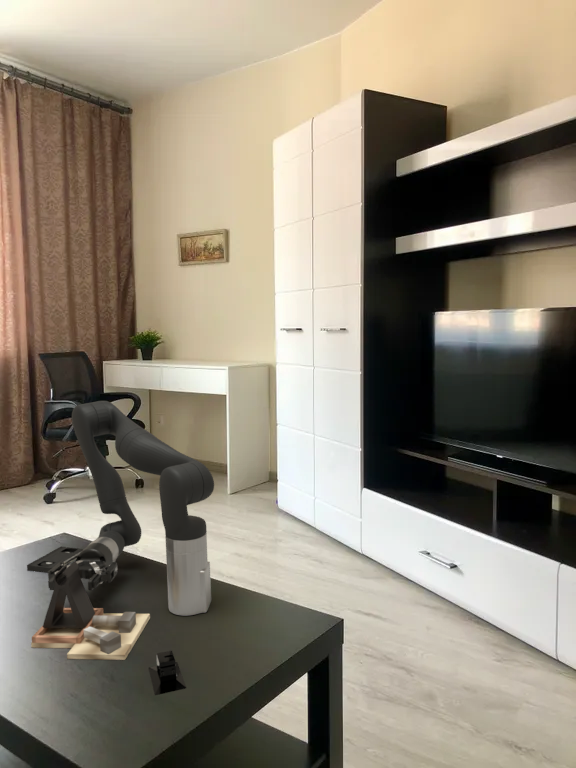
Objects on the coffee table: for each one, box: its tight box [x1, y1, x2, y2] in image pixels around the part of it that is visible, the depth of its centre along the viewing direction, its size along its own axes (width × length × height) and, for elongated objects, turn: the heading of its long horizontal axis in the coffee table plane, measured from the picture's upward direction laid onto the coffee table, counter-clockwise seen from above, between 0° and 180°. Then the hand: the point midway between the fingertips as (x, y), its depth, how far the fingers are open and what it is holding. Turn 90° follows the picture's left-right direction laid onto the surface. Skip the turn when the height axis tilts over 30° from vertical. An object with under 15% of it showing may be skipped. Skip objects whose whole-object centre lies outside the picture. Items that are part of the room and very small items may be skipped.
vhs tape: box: [26, 545, 85, 574], centre depth 171 cm, size 14×8×2 cm, turn 163°
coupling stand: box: [30, 607, 151, 661], centre depth 129 cm, size 21×17×4 cm
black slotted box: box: [148, 650, 187, 696], centre depth 114 cm, size 12×7×5 cm, turn 20°
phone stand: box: [42, 561, 95, 628], centre depth 131 cm, size 9×6×12 cm, turn 87°
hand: (70, 586), depth 132 cm, fingers open, 8 cm apart
